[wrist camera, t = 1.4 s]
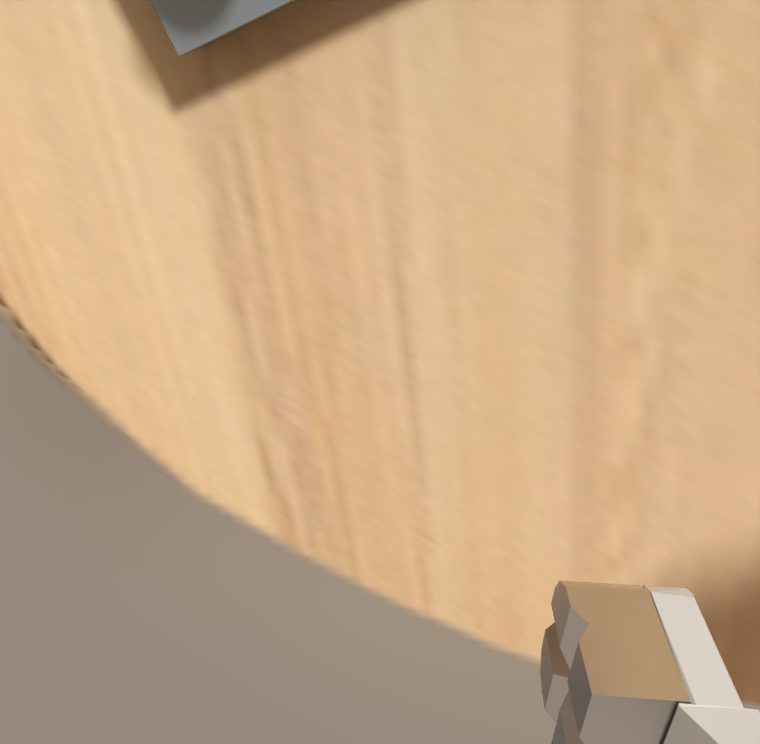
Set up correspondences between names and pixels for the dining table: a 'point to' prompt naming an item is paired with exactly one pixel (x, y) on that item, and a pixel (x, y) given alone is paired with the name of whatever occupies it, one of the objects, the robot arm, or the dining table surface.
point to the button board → (208, 19)
